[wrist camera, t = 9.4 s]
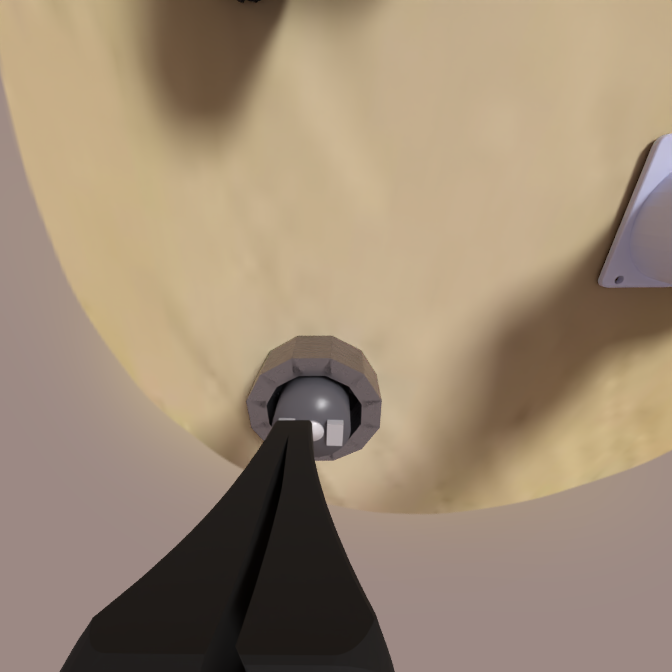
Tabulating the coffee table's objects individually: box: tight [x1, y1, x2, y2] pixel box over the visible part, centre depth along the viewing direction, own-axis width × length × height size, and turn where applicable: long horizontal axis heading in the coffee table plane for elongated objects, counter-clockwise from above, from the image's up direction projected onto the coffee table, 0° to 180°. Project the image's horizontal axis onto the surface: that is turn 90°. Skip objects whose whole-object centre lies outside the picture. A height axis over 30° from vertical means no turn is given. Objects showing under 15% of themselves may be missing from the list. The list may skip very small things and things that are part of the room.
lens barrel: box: [246, 336, 382, 461], centre depth 21 cm, size 9×9×3 cm
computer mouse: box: [272, 376, 351, 457], centre depth 20 cm, size 5×5×4 cm
